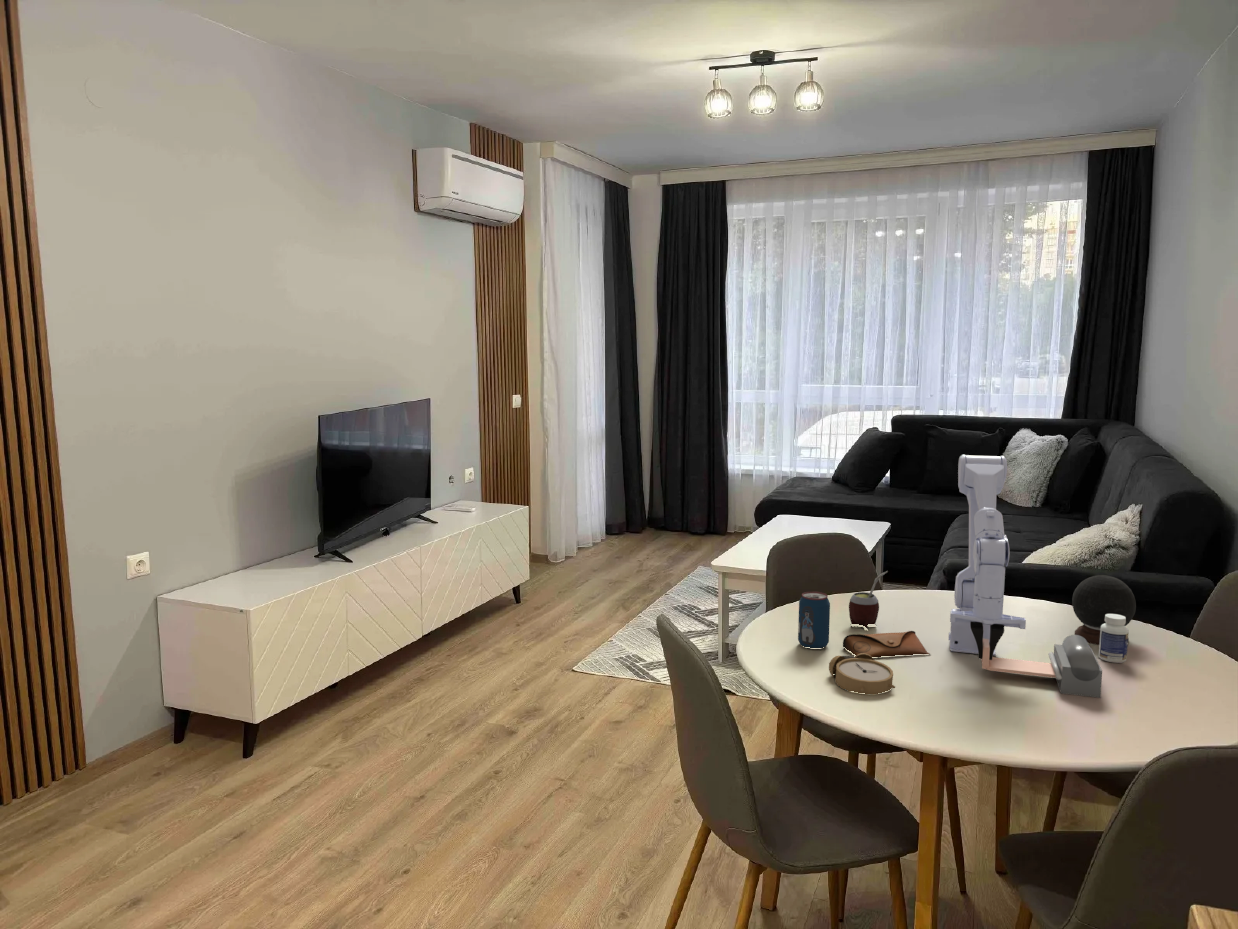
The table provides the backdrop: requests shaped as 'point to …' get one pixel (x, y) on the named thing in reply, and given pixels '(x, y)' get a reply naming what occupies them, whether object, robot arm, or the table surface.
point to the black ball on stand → (1101, 604)
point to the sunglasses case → (884, 644)
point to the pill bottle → (1113, 639)
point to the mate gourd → (864, 606)
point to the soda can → (814, 620)
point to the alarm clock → (861, 674)
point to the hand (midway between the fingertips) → (985, 657)
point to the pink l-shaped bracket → (1015, 664)
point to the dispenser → (1076, 667)
